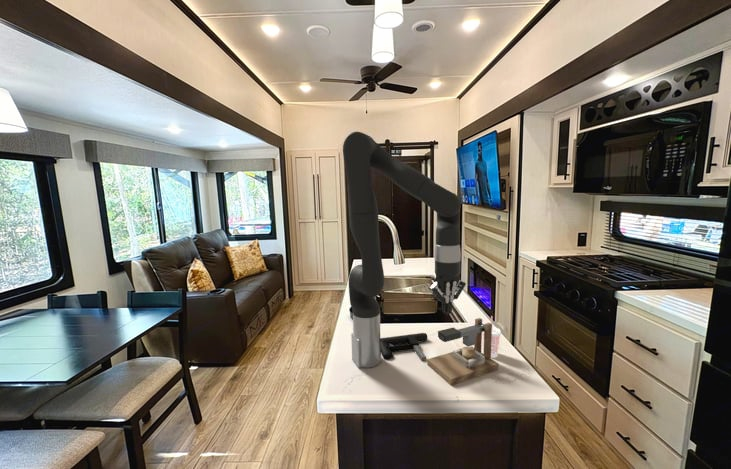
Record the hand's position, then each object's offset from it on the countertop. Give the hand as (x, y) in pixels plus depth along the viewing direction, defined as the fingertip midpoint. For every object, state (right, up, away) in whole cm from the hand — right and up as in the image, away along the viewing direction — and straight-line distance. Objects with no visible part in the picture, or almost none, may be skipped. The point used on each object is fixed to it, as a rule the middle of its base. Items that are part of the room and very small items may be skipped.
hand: (447, 313), depth 93 cm
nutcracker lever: (+7, -12, +4) cm, 14 cm away
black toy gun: (-10, -19, +17) cm, 27 cm away
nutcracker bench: (+6, -19, +5) cm, 21 cm away
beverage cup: (+19, -18, +13) cm, 29 cm away
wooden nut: (+9, -17, +6) cm, 20 cm away
